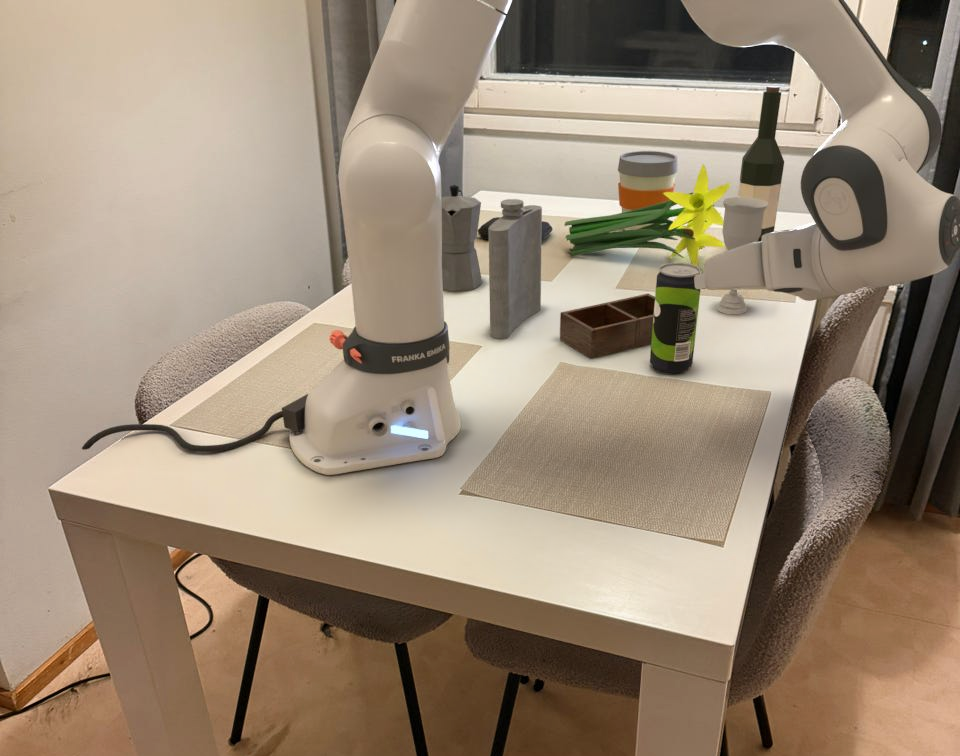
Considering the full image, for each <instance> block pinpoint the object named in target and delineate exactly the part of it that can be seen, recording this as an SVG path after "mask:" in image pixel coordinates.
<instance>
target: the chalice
mask: <svg viewBox="0 0 960 756" xmlns="http://www.w3.org/2000/svg"><path fill="white" fill-rule="evenodd" d="M722 205H723V207H724V215H723V220H724V222H723V225H722V236H723V241H724V245H725V248H726V251H729V250H731V249H734V248H737V247H740V246H743V245H747V244H750V243H754V242H757V241H758V239H759V237H760V235H761V229H762V222H763V215H764V210H765V209H766V207H767V206H768V202H766V201H764V200H761V199H756V198H749V197H738V196H735V197H734V196H733V197H727V198H724V199H722ZM718 302H719V304H718V305H717V306H716V308H715V309H716V310H717V311H718V312H719V313H723V314H727V315H742V314H745V313H746V312H747V307H746V302H745V299H744V297H743V296H742V295H741V294H739V292H738V290H729V292H728V293H726V294H725V295H723V296H722V297H721V299H720V301H718Z"/></svg>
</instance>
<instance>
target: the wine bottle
mask: <svg viewBox="0 0 960 756" xmlns="http://www.w3.org/2000/svg"><path fill="white" fill-rule="evenodd" d="M780 89H781V87H780V86H779V85H766V88H765V90H763V93H762V102H761V109H760V116H759V124H758V130H757V137H756V138H755V140H754V141H753V142H752V144H751V145H750V146H749V148H748V149H747V151H746V152H745V154H744V155H743V156H742V158H741V167H740V173H739V174H740V175H739V183H738V191H737V197H749V198H756V199H761V200H764V201H766V202H768V206H767V207H766V209H765V210H764V215H763V222H762V229H761V235H760V237H759V239H758V241H757V242H759V241H762V236H763V235H764V234H767V233H771V232H775V227H776V220H777V214H778V207H779V201H780V194H781V186H782V181H783V174H784V168H785V160H784V158H783V155H782V152H781V150H780V148H779V147H780V146H779V145H778V141H777V139H776V134H777V133H776V132H777V127H778V119H779V112H780V106H781V97H782V90H780Z"/></svg>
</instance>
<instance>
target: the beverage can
mask: <svg viewBox="0 0 960 756" xmlns="http://www.w3.org/2000/svg"><path fill="white" fill-rule="evenodd" d="M658 270H659V272H658V273H657V275H656V281H655V282H656V283H655V292H654V293H655V294H654V296H655V305H654V317H653V329H652V341H651V344H650V354H649V355H650V356H649V363H650V365H651V366H652V368H653V369H654V370H655V371H657V372H659V373H662V374H666V375H678V374H683V373H685V372H687V371H688V370H689V369H690V368H691V367H692V366H693V363H694V361H693V360H694V353H695V343H696V333H697V324H698V315H699V309H700V308H699V307H700V299H701V298H700V297H701V290H702V289H696V288H695V284H694V277H695V276H696V275H698V274H701V273H702V272H701V267H699V266H695V265H693V264H692V263H686V262H669V263H664V264H662V265H660V267H659V269H658Z"/></svg>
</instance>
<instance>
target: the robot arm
mask: <svg viewBox="0 0 960 756" xmlns="http://www.w3.org/2000/svg"><path fill="white" fill-rule="evenodd" d="M512 2H513V0H396V1H395V4H394V6H393V9H392V12H391V15H390V17H389V21H388V23H387V26H386V28H385V31H384V34H383V36H382V39H381V41H380V44H379V47H378V49H377V52H376V54H375V56H374V59H373V61H372V64H371V67H370V69H369V72H368V74H367V77H366V78H365V82H364V83H363V87H362V89H361V91H360V94H359V97H358V99H357V102H356V104H355V106H354V109H353V112H352V115H351V117H350V119H349V123H348V125H347V127H346V130H345V133H344V136H343V139H342V142H341V143H342V144H341V150H340V155H339V156H340V157H339V165H338V176H337V177H338V186H339V195H340V205H341V212H342V220H343V228H344V236H345V243H346V250H347V258H348V265H349V273H350V284H351V292H352V293H351V294H352V303H353V313H354V325H355V326H354V327H353V329H352V331H351V332H350V334H349V335H346V334H345V333H344V332H343V331H342V330H340V329H335V330H333V331H331V333H330V335H329V338H328V339H329V343H330V344H331V345H332V346H334V348H335V349H337V350H342V354H343V355H342V356H343V359H342V360H341V361H340V362H339V363H338V364H337V365H336V366H335V367H334V368H333V369H332V370H331V371H329V373H328V374H327V375H326V376H325V377H323V379H321V380H320V381H319V382H318V383H316V385H315V386H313V387H312V388H311V389H310V391H308V393H307V394H305V395H303V396H301V397H299V398H298V399H296V400H294V401H291V402H290V403H288V404H287V405H284V406H283V407H282V408H281V410H280V411H278V412H276V413H274V414H272V415H271V416H270V417H268V419H267V420H266V422H265V423H264V425H263V426H262V428H260V429H259V430H257V431H255V432H253V433H252V434H250V435H248V436H246V437H243V438H242V439H239V440H236V441H232V442H228V443H223V444H221V443H220V444H213V445H212V444H211V445H199V444H192V443H190V442H187V441H186V440H185V439H184V438H183V437H182V436H181V435H180V434H179V432H178V431H176V430H175V429H173V428H172V427H170V426H167V425H163V424H153V423H151V424H149V423H135V424H134V423H133V424H131V423H130V424H121V425H116V426H112V427H108V428H105V429H104V430H101V431H100V432H97V433H95V434H94V435H92V436H91V437H90V438H89V439H87V441H86V442H85V443H84V444H83V446H82V447H81V450H84V451H85V450H89V449H90V448H92V446H94V444H96V443H97V442H98V441H99V440H101V439H104V438H105V437H108V436H110V435H113V434H116V433H122V432H131V431H133V432H134V431H135V432H136V431H148V432H149V431H151V432H153V431H154V432H155V431H156V432H164V433H166V434H168V435H169V436H171V438H173V439H174V440H175V442H176V443H177V444H178V445H179V446H180V447H181V448H183V449H185V450H187V451H191V452H195V453H196V452H197V453H214V452H217V453H218V452H225V451H229V450H233V449H236V448H240V447H243V446H245V445H247V444H250V443H252V442H254V441H255V440H258V439H259V438H261V437H263V436H264V435H266V434H267V433H268V432H269V431H270V429H271V427H272V426H273V425H274V423H275V422H277V421H278V420H281V419H282V420H283V426H284V428H285V429H287V430H289V433H288V435H289V445H290V448H291V450H292V453H294V455H295V457H296V458H297V459H298V461H300V462H301V463H302V464H303V465H305V466H306V467H307V469H310V470H312V471H314V472H315V473H318V474H322V475H324V476H325V475H326V476H332V475H333V476H334V475H339V474H346V473H352V472H358V471H364V470H368V469H369V470H370V469H376V468H383V467H388V466H393V465H399V464H407V463H412V462H418V461H424V460H430V459H437V458H440V457H442V456H444V454H445V452H446V450H447V445H448V444H449V443H450V442H451V441H452V440H453V439H454V438H456V436H457V435H459V432H460V431H461V429H462V420H461V418H460V415H459V411H458V409H457V407H456V403H455V399H454V396H453V390H452V386H451V385H452V384H451V380H450V373H449V366H448V365H449V363H450V337H449V326H448V324H447V322H446V321H445V309H444V308H445V307H444V290H443V282H442V201H441V197H442V173H441V166H440V163H439V161H440V156H441V153H442V151H443V148H444V146H445V144H446V142H447V140H448V139H449V136H450V135H451V132H452V130H453V128H454V126H455V124H456V123H457V121H458V119H459V117H460V115H461V113H462V111H463V109H464V108H465V106H466V104H467V103H468V101H469V99H470V97H471V96H472V94H473V93H474V91H475V90H476V88H477V86H478V83H479V81H480V78H481V76H482V73H483V71H484V69H485V67H486V65H487V62H488V59H489V57H490V55H491V52H492V50H493V48H494V45H495V43H496V41H497V38H498V35H499V34H500V31H501V29H502V26H503V24H504V22H505V20H506V16H507V15H505V14H508V12H509V10H510V7H511V4H512ZM680 2H681V3H682V5H683V7H684V8H685V9H686V11H687V13H688V14H689V16H690V18H691V19H692V21H694V23H695V24H696V25H697V26H698V28H699V29H701V31H703V33H704V34H705V35H706V36H707V37H708V38H710V39H711V40H712V41H713V42H715V43H718V44H720V45H724V46H727V47H734V48H748V47H755V46H762V45H777V46H783V47H785V48H788V49H791V50H792V51H793V52H795V53H796V54H797V55H798V56H800V57H801V58H802V59H803V61H804V62H805V64H806V65H807V66H808V67H809V69H810V70H811V71H812V73H813V74H814V75H815V77H816V78H817V79H818V81H819V83H820V84H821V85H822V86H823V88H824V89H825V90H826V91H827V93H828V94H829V96H830V97H831V99H832V100H833V101H834V103H835V104H836V105H837V107H838V110H839V113H840V126H839V127H838V128H837V129H836V130H835V131H834V132H833V133H832V134H831V135H830V136H829V137H828V138H827V139H826V140H825V141H824V142H823V144H822V145H821V146H820V147H819V148H818V149H817V150H816V151H815V153H814V154H813V155H812V156H811V157H810V158H809V159H808V161H807V162H806V164H805V165H804V168H803V170H802V173H801V177H800V191H801V196H802V200H803V202H804V204H805V207H806V208H807V210H808V212H809V214H810V216H811V217H812V220H813V221H814V222H811V223H808V224H803V225H800V226H797V227H794V228H792V229H784V230H777V231H774V232H771V233H767V234H764V235H763V236H762V241H759V242H754V243H750V244H747V245H743V246H740V247H737V248H734V249H731V250H729V251H727V250H726V251H722V252H721V253H717V254H715V255H712V256H710V257H709V258H707V259H706V260H704V262H703V272H701V273H700V274H698V275H696V276H695V277H694V284H695V288H696V289H701V290H709V291H728V290H729V291H731V290H737V291H739V290H740V291H741V290H743V291H744V290H747V291H748V290H749V291H750V290H766V291H767V292H775V293H785V294H788V295H792V296H794V297H798V298H799V299H801V300H804V301H807V302H812V301H817V300H822V299H827V298H833V297H839V296H844V295H848V294H851V293H854V292H856V291H858V290H860V289H863V288H869V287H870V288H886V287H891V286H896V285H900V284H901V285H902V284H906V283H909V282H914V281H917V280H921V279H924V278H927V277H930V276H933V275H935V274H938V273H940V272H942V271H944V270H947V268H949V267H950V266H951V264H953V262H954V261H955V259H956V258H957V256H958V254H959V252H960V198H959V196H957V195H955V194H952V193H948V192H945V191H942V190H940V189H939V188H937V187H935V186H934V185H933V184H931V183H929V182H928V181H927V180H926V179H924V178H923V177H922V176H921V175H920V174H919V173H920V171H921V170H922V169H923V168H925V166H927V164H928V163H930V162H931V160H933V158H934V156H935V155H936V153H937V151H938V149H939V146H940V144H941V139H942V122H941V117H940V115H939V112H938V110H937V108H936V106H935V105H934V103H933V102H932V100H931V99H929V97H928V96H927V95H925V94H924V93H923V92H922V91H921V90H919V89H918V88H917V87H915V86H914V85H912V83H910V82H909V81H907V80H906V79H905V78H903V76H901V75H900V73H898V72H897V71H896V70H895V69H894V68H893V66H892V65H891V64H890V63H889V61H888V60H887V59H886V57H885V55H883V53H882V51H881V50H880V49H879V48H878V46H877V44H876V43H875V41H874V40H873V39H872V37H871V36H870V34H869V33H868V31H867V30H866V29H865V27H864V26H863V24H862V23H861V22H860V21H859V19H858V18H857V16H856V15H855V13H854V12H853V10H852V9H851V8H850V6H849V5H848V3H847V2H846V1H845V0H680Z"/></svg>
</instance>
